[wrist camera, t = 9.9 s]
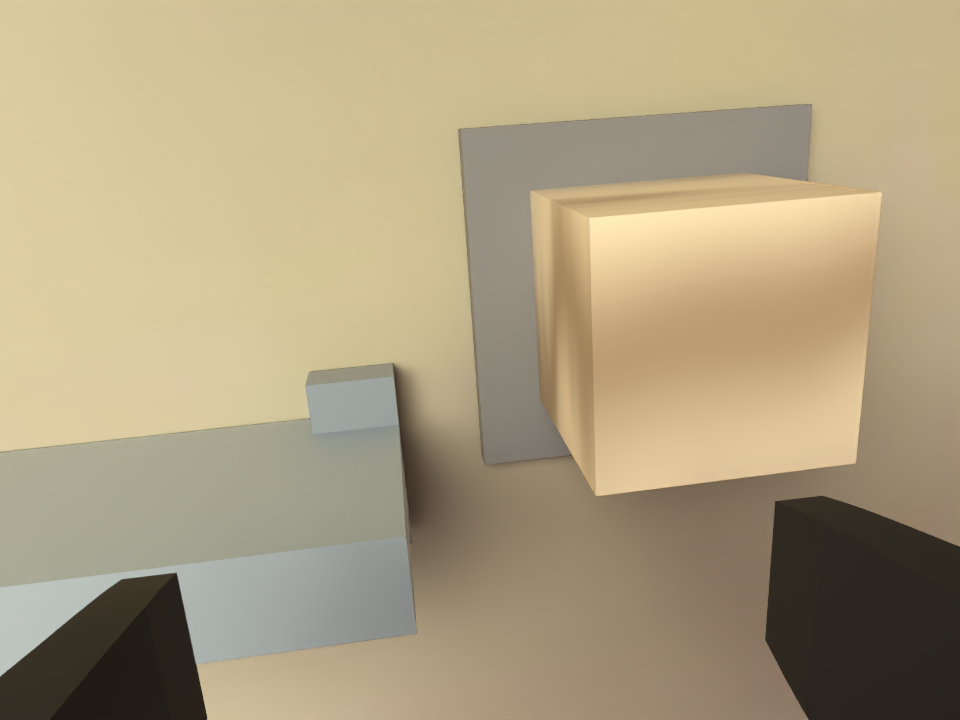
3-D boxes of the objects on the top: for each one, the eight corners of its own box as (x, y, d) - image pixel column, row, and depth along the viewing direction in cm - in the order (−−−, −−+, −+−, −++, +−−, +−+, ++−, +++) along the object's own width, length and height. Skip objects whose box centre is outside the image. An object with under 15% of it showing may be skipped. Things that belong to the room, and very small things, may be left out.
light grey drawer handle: (410, 522, 19) (422, 687, 14) (-258, 605, 18) (-555, 830, 12) (392, 362, 18) (398, 473, 12) (-333, 437, 16) (-706, 602, 11)
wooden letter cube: (739, 376, 19) (860, 462, 14) (539, 399, 18) (596, 496, 14) (747, 172, 17) (887, 192, 12) (529, 190, 17) (589, 218, 12)
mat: (777, 420, 20) (789, 429, 19) (481, 455, 19) (484, 464, 19) (797, 104, 17) (812, 104, 17) (458, 128, 17) (461, 129, 16)
